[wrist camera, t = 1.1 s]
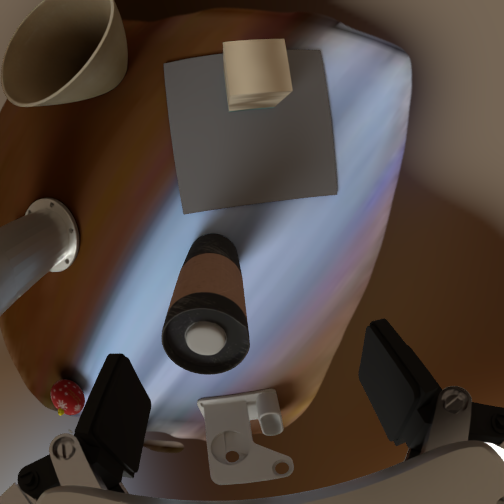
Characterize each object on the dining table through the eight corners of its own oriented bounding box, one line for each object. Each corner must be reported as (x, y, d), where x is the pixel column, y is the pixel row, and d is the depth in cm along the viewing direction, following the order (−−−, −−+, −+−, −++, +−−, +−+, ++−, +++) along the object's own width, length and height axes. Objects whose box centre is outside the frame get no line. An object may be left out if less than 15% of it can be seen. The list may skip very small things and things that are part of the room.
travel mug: (178, 262, 40) (145, 351, 21) (205, 221, 38) (187, 288, 20) (220, 288, 42) (219, 386, 24) (249, 250, 40) (269, 334, 22)
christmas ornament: (95, 396, 50) (83, 427, 40) (71, 396, 50) (59, 425, 40) (76, 371, 47) (60, 402, 37) (52, 372, 47) (36, 400, 37)
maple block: (228, 112, 33) (229, 95, 22) (223, 72, 31) (223, 42, 20) (273, 107, 33) (292, 90, 23) (268, 68, 31) (284, 38, 21)
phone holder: (277, 386, 52) (293, 459, 35) (281, 412, 55) (295, 477, 38) (195, 398, 51) (191, 470, 34) (208, 423, 55) (208, 487, 38)
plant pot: (152, 106, 32) (106, 81, 17) (64, 127, 31) (-5, 125, 16) (155, 19, 26) (123, -36, 12) (69, 44, 25) (13, 15, 11)
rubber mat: (184, 213, 38) (183, 214, 37) (164, 65, 30) (163, 63, 29) (335, 193, 39) (337, 194, 38) (319, 51, 31) (320, 50, 30)
